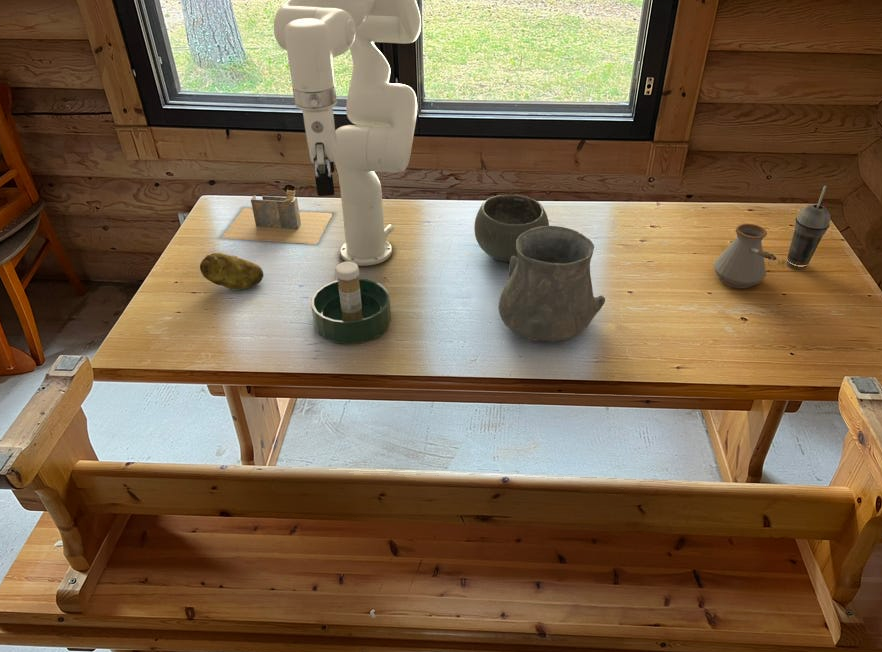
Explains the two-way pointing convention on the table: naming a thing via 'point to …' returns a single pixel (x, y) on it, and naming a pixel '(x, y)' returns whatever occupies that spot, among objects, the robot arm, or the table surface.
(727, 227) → the table surface
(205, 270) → the potato
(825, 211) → the beverage cup
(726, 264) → the coffee pot
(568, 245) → the vessel
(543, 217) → the bowl
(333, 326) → the green round dish
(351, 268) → the sprinkles bottle
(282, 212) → the architectural model on board
